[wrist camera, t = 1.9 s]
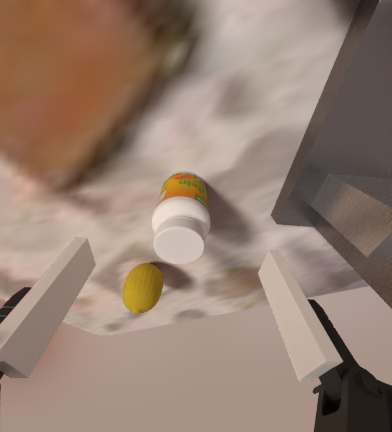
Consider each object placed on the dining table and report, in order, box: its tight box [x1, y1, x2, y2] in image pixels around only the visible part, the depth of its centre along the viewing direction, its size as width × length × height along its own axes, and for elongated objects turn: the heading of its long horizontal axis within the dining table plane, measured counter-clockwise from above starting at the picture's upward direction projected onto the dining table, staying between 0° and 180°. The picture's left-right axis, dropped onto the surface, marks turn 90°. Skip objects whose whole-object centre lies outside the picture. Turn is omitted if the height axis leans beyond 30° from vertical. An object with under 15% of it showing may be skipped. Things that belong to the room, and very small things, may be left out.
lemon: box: [123, 263, 163, 315], centre depth 25 cm, size 6×6×8 cm
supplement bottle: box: [152, 171, 210, 264], centre depth 17 cm, size 5×5×10 cm
